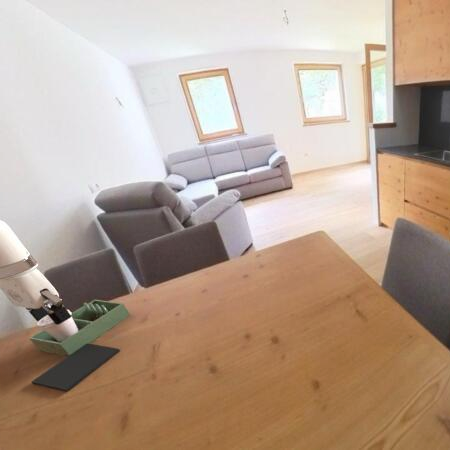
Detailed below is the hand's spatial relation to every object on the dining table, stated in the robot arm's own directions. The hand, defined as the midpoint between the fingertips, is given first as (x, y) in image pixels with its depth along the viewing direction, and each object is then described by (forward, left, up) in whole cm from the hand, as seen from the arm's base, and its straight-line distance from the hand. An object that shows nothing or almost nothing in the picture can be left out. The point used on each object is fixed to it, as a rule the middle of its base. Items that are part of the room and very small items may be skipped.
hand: (54, 318), depth 78 cm
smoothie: (0, 0, -9) cm, 9 cm away
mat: (+12, -6, -9) cm, 17 cm away
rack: (0, +4, -9) cm, 10 cm away
